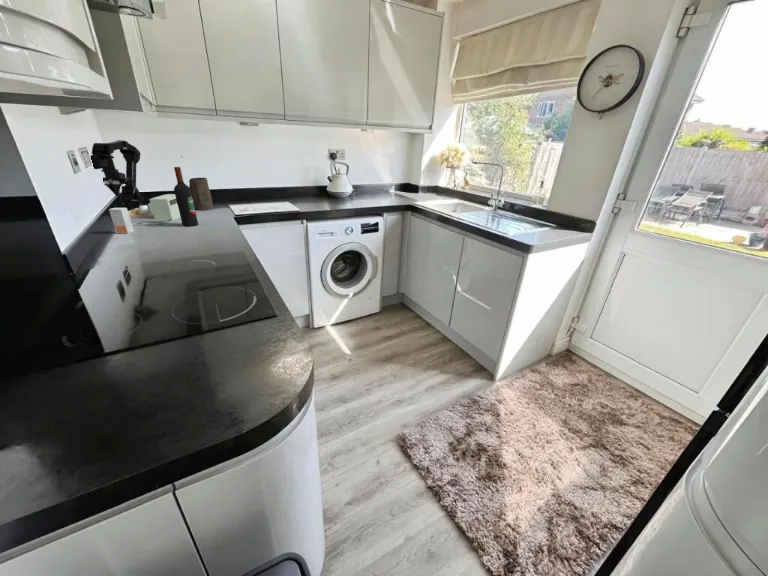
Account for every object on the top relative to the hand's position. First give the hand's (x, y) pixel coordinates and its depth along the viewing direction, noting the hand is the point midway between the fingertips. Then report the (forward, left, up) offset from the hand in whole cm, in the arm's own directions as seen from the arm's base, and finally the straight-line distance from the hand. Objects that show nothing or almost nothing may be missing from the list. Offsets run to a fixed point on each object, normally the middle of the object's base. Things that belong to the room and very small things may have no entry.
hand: (117, 196), depth 186 cm
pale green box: (0, +28, -12) cm, 30 cm away
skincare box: (+34, +23, -12) cm, 43 cm away
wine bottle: (+18, +47, -12) cm, 52 cm away
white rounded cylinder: (-2, +11, -11) cm, 16 cm away
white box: (0, +19, -11) cm, 22 cm away
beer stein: (-26, +33, -12) cm, 44 cm away
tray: (0, +14, -12) cm, 18 cm away
